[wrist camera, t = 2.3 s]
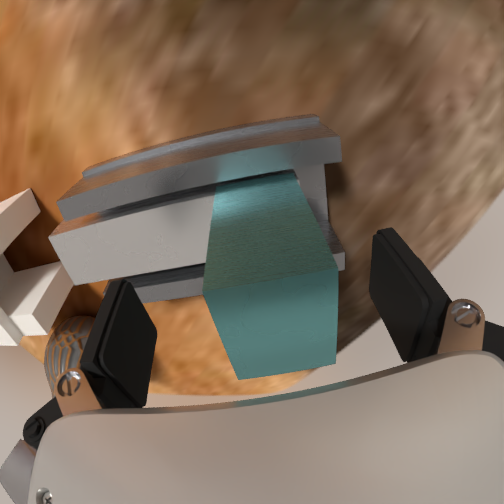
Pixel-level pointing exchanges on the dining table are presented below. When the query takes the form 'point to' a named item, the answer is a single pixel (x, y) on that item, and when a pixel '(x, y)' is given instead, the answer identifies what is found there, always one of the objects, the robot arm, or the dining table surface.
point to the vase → (66, 347)
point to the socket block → (27, 279)
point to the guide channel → (210, 182)
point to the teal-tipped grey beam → (227, 264)
